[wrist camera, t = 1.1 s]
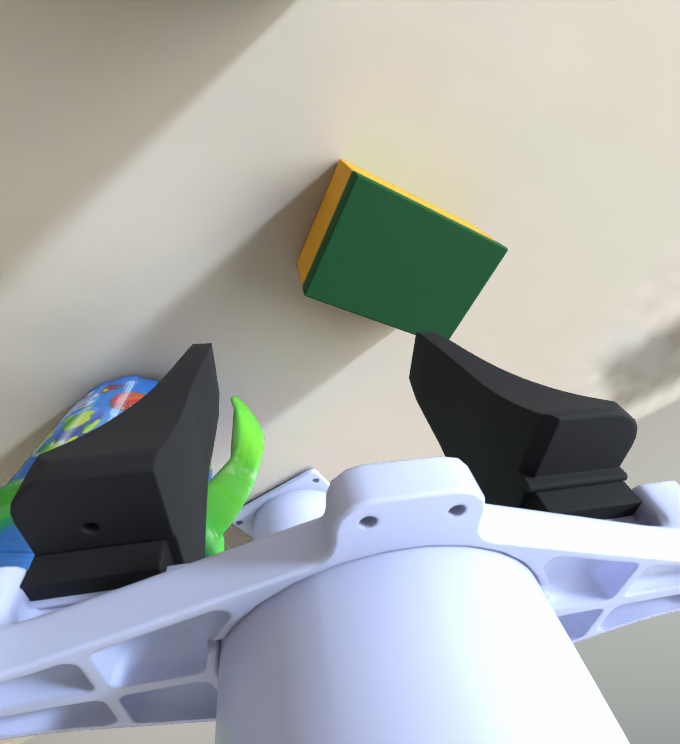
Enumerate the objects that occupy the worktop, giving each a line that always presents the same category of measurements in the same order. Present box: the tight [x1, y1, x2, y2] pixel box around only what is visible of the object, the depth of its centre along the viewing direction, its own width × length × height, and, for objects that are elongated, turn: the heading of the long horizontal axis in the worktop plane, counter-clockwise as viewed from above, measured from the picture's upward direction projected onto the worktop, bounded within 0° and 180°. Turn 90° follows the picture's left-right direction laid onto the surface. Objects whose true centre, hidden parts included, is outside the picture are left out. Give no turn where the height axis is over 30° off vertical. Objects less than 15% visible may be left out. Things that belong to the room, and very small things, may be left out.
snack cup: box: [0, 375, 264, 570], centre depth 22 cm, size 16×10×10 cm
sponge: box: [297, 159, 508, 340], centre depth 21 cm, size 8×6×4 cm
